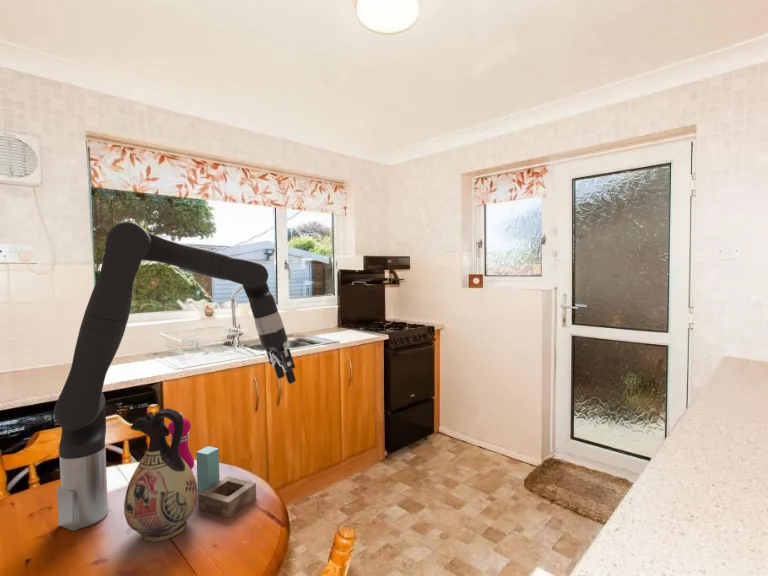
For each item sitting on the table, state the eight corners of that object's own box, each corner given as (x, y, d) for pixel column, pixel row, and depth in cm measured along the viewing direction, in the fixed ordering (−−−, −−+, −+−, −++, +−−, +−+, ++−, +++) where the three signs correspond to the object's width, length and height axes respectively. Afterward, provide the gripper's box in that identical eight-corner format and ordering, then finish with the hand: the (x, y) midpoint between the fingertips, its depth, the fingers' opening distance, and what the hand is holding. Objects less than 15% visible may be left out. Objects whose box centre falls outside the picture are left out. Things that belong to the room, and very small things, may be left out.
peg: (208, 497, 113) (207, 454, 113) (197, 494, 115) (196, 451, 114) (219, 490, 117) (218, 448, 116) (209, 487, 119) (207, 446, 118)
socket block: (228, 518, 104) (228, 502, 104) (199, 509, 108) (198, 494, 108) (256, 497, 113) (255, 483, 113) (227, 490, 117) (227, 476, 117)
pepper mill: (184, 487, 119) (181, 418, 118) (161, 485, 120) (159, 416, 119) (200, 474, 126) (197, 409, 125) (178, 472, 127) (176, 408, 126)
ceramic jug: (108, 550, 93) (102, 417, 91) (155, 509, 108) (151, 395, 106) (178, 556, 90) (173, 420, 89) (217, 514, 106) (213, 397, 104)
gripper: (250, 331, 126) (266, 381, 129) (267, 335, 114) (284, 390, 117) (273, 323, 130) (288, 371, 133) (291, 326, 119) (307, 378, 121)
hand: (286, 380), depth 125 cm, fingers open, 8 cm apart
